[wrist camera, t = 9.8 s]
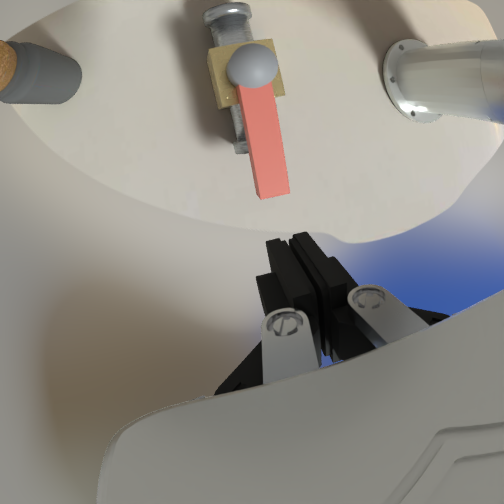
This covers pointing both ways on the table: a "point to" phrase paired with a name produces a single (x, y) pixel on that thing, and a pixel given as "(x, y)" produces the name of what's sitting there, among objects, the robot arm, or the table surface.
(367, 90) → the table surface
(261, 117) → the lever
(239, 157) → the table surface
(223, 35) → the valve body
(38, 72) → the bottle
